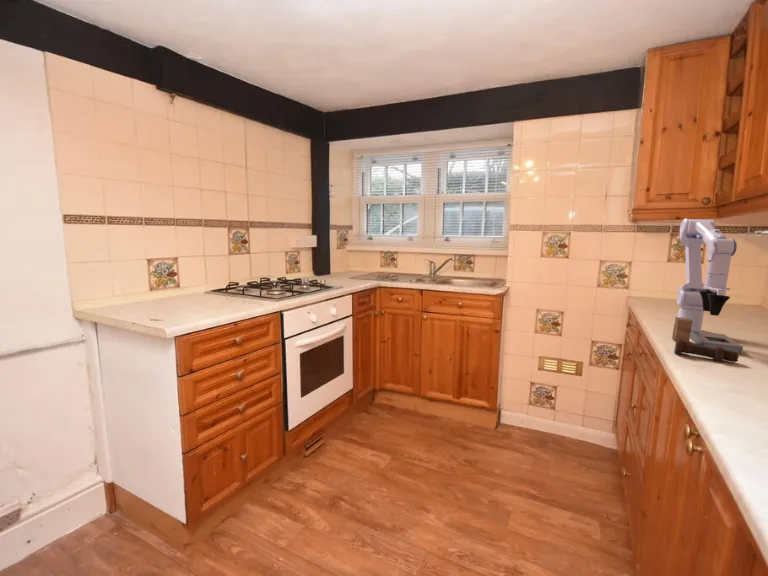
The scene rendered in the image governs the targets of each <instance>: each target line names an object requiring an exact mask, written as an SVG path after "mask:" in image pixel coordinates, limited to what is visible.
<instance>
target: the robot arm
mask: <svg viewBox="0 0 768 576" xmlns="http://www.w3.org/2000/svg"><path fill="white" fill-rule="evenodd" d="M679 239H680V240H679V241H680V242H681V243H683V244H684V250H685V253H684V256H685V281H686V282H685V283H684V284H682V285H680V286H679V287H678V288H677V294H676V304H677V305H678V306H679V307H680V308H679V310H678V311H677V317H680V318H689V319H691V320H692V321H693V322H692V327H691V331H700V332H704V331H703V330H702V325H703V319H704V314H705V312H709V314H710V316H720V313H721V312H722V309H723V308H724V305H725V304H726V303H727V302H728V301H729V300H730V297H731V296H729V295H726V293H727V291H731V288H730V287H727V285H728V284H727V283H728V279H729V278H728V277H729V272H730V266H731V261H732V257H733V256H735V253H736V252H737V249H738V243H737V240H736V238H728V237H727V236H726V235H725V234H723V232H722V231H721V230H720V229H719V228H718V229H716V222H715V220H714V219H711V218H710V219H699V218H697V219H696V218H695V219H694V218H693V219H692V218H684V219H683V220H682V221H681V222H680V226H679ZM704 244H705V246H707V247H706V249H707V250H706V251H707V260H708V262H707V268H706V269H707V270H706V274H705V275H706V276H705V281H704V282H703V276H702V275H703V274H702V250H701V249H702V248H701V246H702V245H704ZM673 327H674V324H673Z"/></svg>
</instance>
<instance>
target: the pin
mask: <svg viewBox="0 0 768 576" xmlns="http://www.w3.org/2000/svg"><path fill="white" fill-rule="evenodd" d="M692 322H693V321H692V320H691V319H689V318H680V317H678V316H676V317H675V319H674V324H673V325H674V326H673V330H672V336H671V339H672V340H673V341H674V342H675V343H676V340H677V338H683V339H684V342H687V343H690V339H691V338H690V333H691V327H692Z"/></svg>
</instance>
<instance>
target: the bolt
mask: <svg viewBox="0 0 768 576" xmlns="http://www.w3.org/2000/svg"><path fill="white" fill-rule="evenodd" d="M673 352H674V354H675V356H676V355H677V356H681V355H682V354H691V355H696V356H700V357H706V358H710V359H712V360H713V361H714V362H718V363H721V362H722V361H725V362H731V363H737V362H738V361H739V357H740V356H739V355H740V354H738V353H736V352H732V351H728V350H727V351H726V350H724V348H723V347H721V346H715V348H712V347H707V346H706V347H705V346H701V345H698V344H697V343H691V342H689V343H687V342H684V339H683V338H677V340H676V342H675V345H674V350H673Z"/></svg>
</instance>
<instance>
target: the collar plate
mask: <svg viewBox="0 0 768 576" xmlns="http://www.w3.org/2000/svg"><path fill="white" fill-rule="evenodd" d="M690 339H691V340H692V341H693V342H694V344H696V345H701V346H705V347H706V346H707V347H712V348H715V346H721V347H723V348H724V350H726V351H727V350H728V351H732V352H736V353H738V355H742V354H743V349H744V346H743V345H741V344H739V343H738V342H736V341H735V340H734V339H732V338H731V337H729V336H728V335H726V334H725V333H724V334H723V333H717V332H716V333H715V332H708V331H703V332H700V331H691V333H690Z"/></svg>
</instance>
